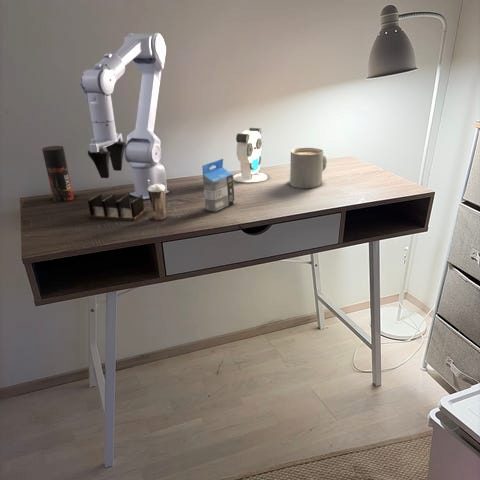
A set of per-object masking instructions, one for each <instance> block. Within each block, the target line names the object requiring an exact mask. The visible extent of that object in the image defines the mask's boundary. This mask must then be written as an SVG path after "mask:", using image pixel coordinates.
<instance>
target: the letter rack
mask: <svg viewBox="0 0 480 480" xmlns="http://www.w3.org/2000/svg"><path fill="white" fill-rule="evenodd" d="M87 204H88V208H89V214H90V219H95V220H96V219H97V220H98V219H99V220H112V221H128V222H129V221H130V222H135V221H137V220H138V219H139V218H140V217H141V216H142V215H144V214H145V213H146V210H145V203H144V199H143V196H142V195H140V196H139V197H135V199H133V200H131V201H130V194H125V195H124V196H122V197H121V198H119V199H118V200H117V198H116V194H115V193H111V194H110V195H108V196H107V197H105V198H104V199H103V194H102V193H101V192H98V193H97V194H96V195H94V196H92V197H91V198H89V199H87Z"/></svg>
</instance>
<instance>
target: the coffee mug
mask: <svg viewBox="0 0 480 480" xmlns="http://www.w3.org/2000/svg"><path fill="white" fill-rule="evenodd" d="M327 163H328V159H327V155H326V154H324V150H323V149H321V148H317V147H297V148H293V149H292V150H290V166H289V167H290V169H289V172H290V174H289V177H290V178H289V185H290V186H291V187H294V188H299V189H312V188H318V187H320V186H322V185H323V184H322V183H323V172H324V171H325V170H326V167H327Z"/></svg>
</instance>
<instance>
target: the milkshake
mask: <svg viewBox="0 0 480 480" xmlns="http://www.w3.org/2000/svg"><path fill="white" fill-rule="evenodd" d="M147 181H148V184H149V187H148V193H149V197H150V198H149V201H150V206H151V211H152V216H153V220H155V221H162V220H165V219H167V209H166V207H167V206H166V193H165V186H164V185H162V184H160V183H159V184H154V185H150V183H149V180H148V179H147Z"/></svg>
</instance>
